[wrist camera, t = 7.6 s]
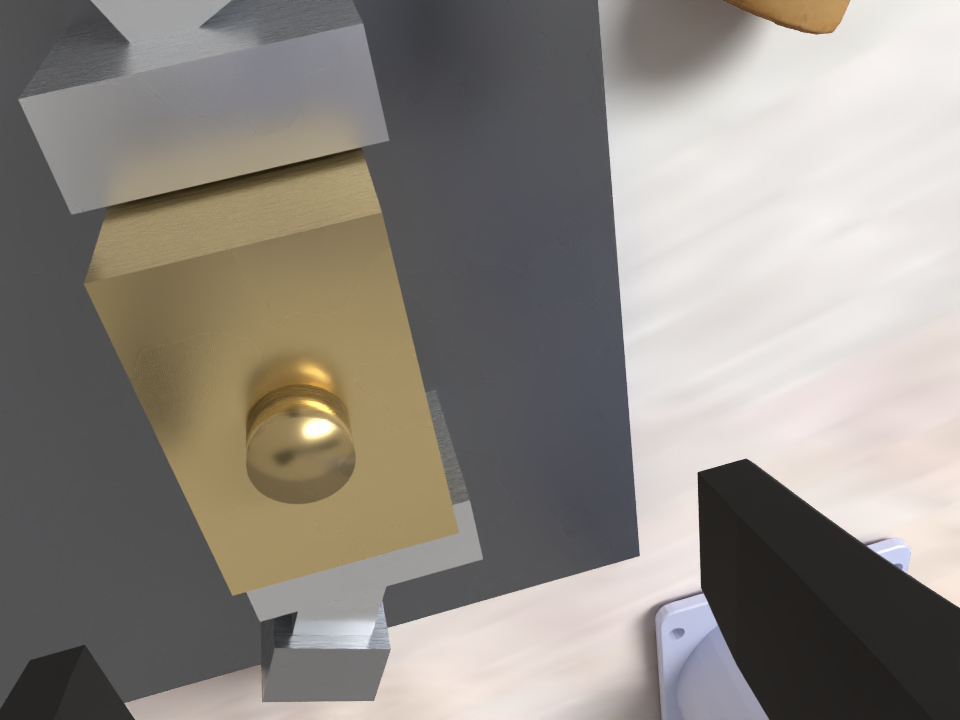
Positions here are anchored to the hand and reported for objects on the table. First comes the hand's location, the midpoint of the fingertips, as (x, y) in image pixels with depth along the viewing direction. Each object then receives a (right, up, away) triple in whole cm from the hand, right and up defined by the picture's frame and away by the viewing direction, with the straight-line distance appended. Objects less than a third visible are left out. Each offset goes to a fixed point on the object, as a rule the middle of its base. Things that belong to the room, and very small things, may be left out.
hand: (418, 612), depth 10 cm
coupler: (-3, +5, +6) cm, 9 cm away
